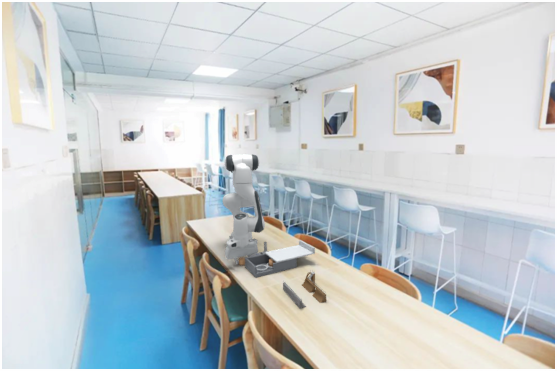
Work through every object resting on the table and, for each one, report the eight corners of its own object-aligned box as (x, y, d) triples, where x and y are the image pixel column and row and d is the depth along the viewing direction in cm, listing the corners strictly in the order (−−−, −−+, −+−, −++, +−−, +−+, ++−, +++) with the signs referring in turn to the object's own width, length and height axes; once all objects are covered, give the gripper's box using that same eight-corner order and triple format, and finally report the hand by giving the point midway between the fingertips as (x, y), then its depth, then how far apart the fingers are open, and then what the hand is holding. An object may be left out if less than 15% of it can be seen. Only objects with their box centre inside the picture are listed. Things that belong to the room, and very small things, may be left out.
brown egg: (238, 264, 174) (237, 257, 174) (244, 263, 176) (243, 256, 175) (240, 267, 171) (240, 260, 170) (246, 265, 173) (246, 258, 172)
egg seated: (268, 266, 169) (267, 258, 169) (274, 264, 171) (273, 257, 170) (271, 268, 166) (270, 261, 165) (277, 267, 168) (276, 259, 167)
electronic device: (246, 244, 183) (267, 240, 189) (246, 258, 184) (268, 254, 191) (248, 247, 178) (270, 242, 184) (249, 262, 180) (271, 256, 186)
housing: (245, 268, 169) (244, 258, 168) (283, 259, 181) (283, 249, 180) (256, 279, 155) (255, 268, 154) (296, 268, 167) (296, 258, 166)
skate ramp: (270, 287, 147) (270, 273, 146) (328, 274, 160) (328, 262, 159) (295, 319, 120) (295, 302, 119) (362, 300, 134) (362, 285, 132)
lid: (264, 253, 174) (264, 247, 174) (300, 245, 186) (300, 240, 186) (276, 262, 160) (276, 256, 160) (314, 253, 172) (314, 247, 172)
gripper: (255, 236, 179) (255, 257, 181) (223, 242, 169) (224, 264, 171) (259, 239, 173) (259, 261, 175) (226, 245, 164) (228, 268, 166)
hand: (242, 262), depth 173 cm, fingers open, 5 cm apart
